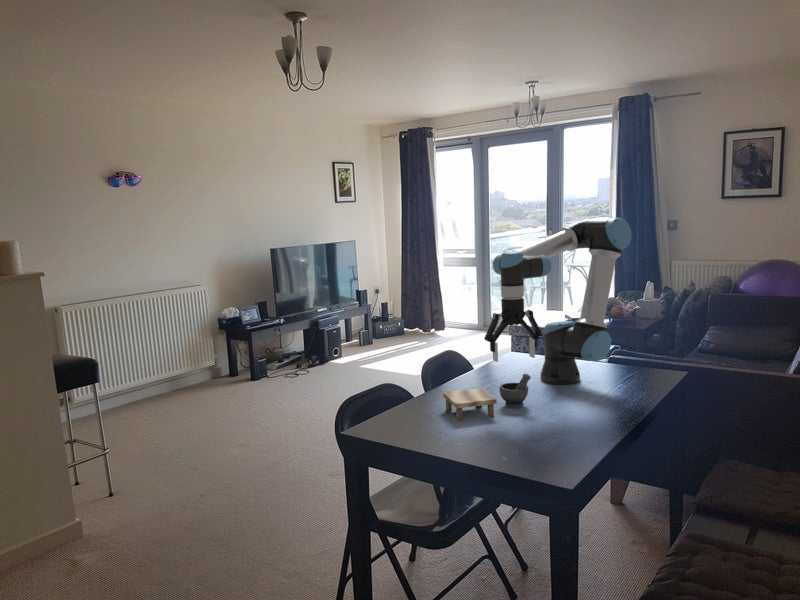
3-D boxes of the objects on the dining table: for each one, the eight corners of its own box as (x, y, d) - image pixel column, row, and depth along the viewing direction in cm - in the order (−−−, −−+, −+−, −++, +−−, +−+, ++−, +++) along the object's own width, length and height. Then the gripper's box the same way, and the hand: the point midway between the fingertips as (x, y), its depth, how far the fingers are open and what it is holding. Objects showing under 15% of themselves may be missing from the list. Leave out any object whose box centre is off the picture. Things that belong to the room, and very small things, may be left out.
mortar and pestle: (495, 406, 207) (494, 373, 205) (508, 399, 214) (507, 367, 212) (524, 412, 200) (523, 377, 198) (537, 405, 207) (536, 371, 205)
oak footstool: (481, 404, 210) (480, 388, 209) (496, 416, 197) (496, 399, 196) (443, 409, 207) (442, 392, 206) (456, 421, 194) (456, 404, 193)
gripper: (541, 293, 208) (542, 353, 211) (473, 299, 203) (475, 360, 206) (551, 296, 201) (552, 357, 204) (481, 302, 196) (483, 365, 198)
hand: (513, 359), depth 205 cm, fingers open, 13 cm apart
